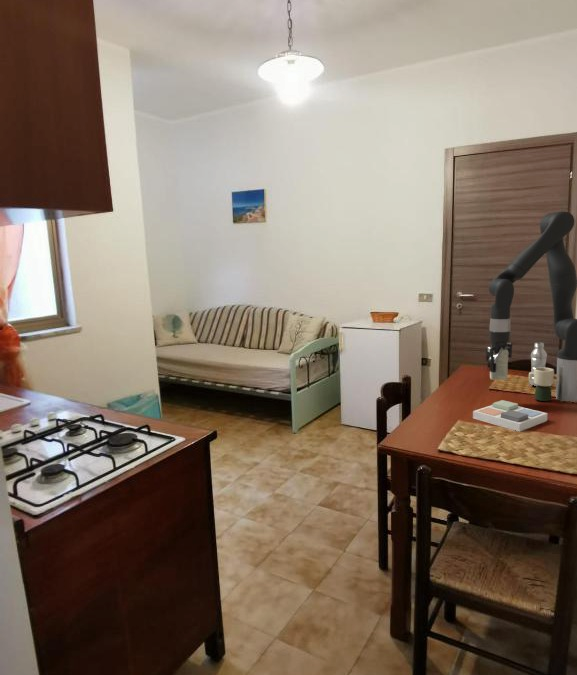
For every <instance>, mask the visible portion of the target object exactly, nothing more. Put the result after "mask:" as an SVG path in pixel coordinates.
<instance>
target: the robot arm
mask: <svg viewBox="0 0 577 675" xmlns="http://www.w3.org/2000/svg"><path fill="white" fill-rule="evenodd" d="M574 226H575V216H574V215H573V214H572V213H571V212H569V211H565V210H564V211H562V210H561V211H553V212H549V213H546V214H544V216H543V217H542V218H541V220H540V223H539V230H540V236H539V237H538V238H536V240H534V241H533V242H532V243H531V244H529V245H528V246H526V247H525V248H524V249H523V250H521V252H519V254H517V255H516V256H515V258H513V260H512V261H511V262H510V263H509V264H508V265H507V267H506V268H504V269H503V270H502V271H501V272H500V273H499V274H497V275H495V277H494V278H492V280H491V281H490V282H489V285H488V292H489V293H490V295H491V296H493V297H495V299H494V303H493V304H492V305H491V307H490V319H489V335H488V336H489V338H488V339H489V342H491V346H486V348H485V361H486V362H488V363H489V373H490V372H496V361H497V359H498V358H499V356H500V354H501V352H502V350H503V349H507V350H508V361H509V359H511V358H512V354H513V343H511V342H510V341H511V306H512V303H513V299H514V295H515V287H514V283H515V282H518V281H519V280H521V279H522V278H524V277H525V275H526V274H528V273H529V272H530V270H531V269H532V268H533V267H534V265H536V263H537V262H538V261H539V260H540V259H541V258H542V257H543V256H544V255H545V254H546V255H545V257H546V262H547V271H548V277H549V278H548V279H549V286H550V289H551V290H550V291H551V299H552V308H553V330H554V334H555V335H556V337H557V338H559V340H563V341H564V346H563V348H561V349H559V350H557V354H556V374H557V375H559V382H558V383H556V382H555V397H556V398H555V400H557V399H558V400H557V401H559V400H561V401H560V402H563V401H577V318H574V315H573V314H574V313H573V308H572V307H573V305H572V303H573V299H574V296H575V294H576V292H577V291H576V290H577V272H576V267H575V265H574V262H573V259H572V257H571V256H570V255H569V253H568V252H567V249H566V247H565V242H564V241H565V240H564V237H565V236H567V235H568V234H569V233H570V232H571V231H573V229H574ZM493 352H495V354H497V355H493ZM493 357H494V360H493Z"/></svg>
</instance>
